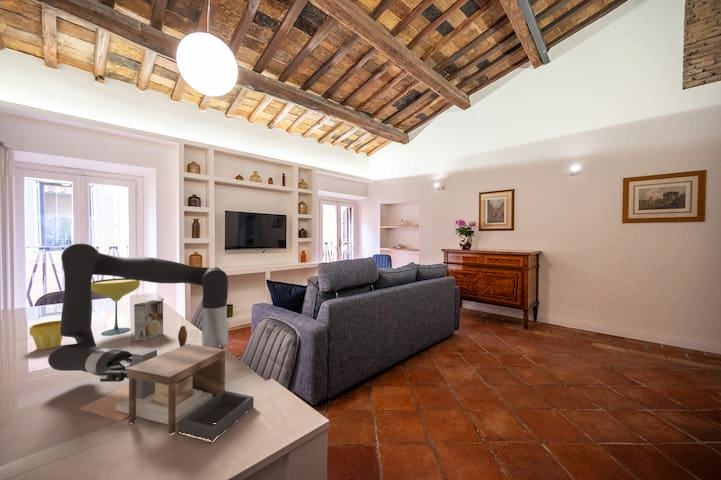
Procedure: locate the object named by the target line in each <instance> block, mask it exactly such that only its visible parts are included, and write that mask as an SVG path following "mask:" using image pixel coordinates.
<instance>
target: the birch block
mask: <svg viewBox="0 0 721 480" xmlns="http://www.w3.org/2000/svg"><path fill="white" fill-rule="evenodd" d="M192 378H193V375H189V376H187V377H185V378H183V379H181V380H179V381H177V382H176V405H177V404H179V403H180V402H182V401H183V400H185V399H187V398H188V397H190V396H192ZM155 404H158V405H162V406H166V407H168V385H164V384H160V383H155Z"/></svg>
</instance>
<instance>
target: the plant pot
mask: <svg viewBox="0 0 721 480" xmlns="http://www.w3.org/2000/svg"><path fill="white" fill-rule="evenodd" d="M60 327H61V320H52V321H44V322H39V323H35V324H32V325H31V326H29V335H30V336H32V339H33V341H34V344H35V347H36V350H38V351H44V350H50V349H56V348H57V347H59V346H62V341H63V337H64V336H61V334H60Z"/></svg>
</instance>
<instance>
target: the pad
mask: <svg viewBox="0 0 721 480" xmlns="http://www.w3.org/2000/svg"><path fill="white" fill-rule="evenodd" d="M128 398H129V385H127V386H125V387H122V388H120V389H118V390H116V391H113V392H111V393H109V394H107V395H105V396H103V397H100V398H99V399H97V400H94V401H92V402H90V403H88V404H86V405H83V406H81V407H79V408H78V410H80V411H84V412H87V413H89V414H94V415H96V416H97V415H98V416H101V417H104V418H107V417H108V419H111V418H112V420H114V419H116V420H115V421H118V420H122V421H123V420H125V419H127V418H129V414H127V413H123V412H119V411H116V404H118V403H120V402H122V401H124V400H126V399H128Z"/></svg>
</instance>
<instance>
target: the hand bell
mask: <svg viewBox="0 0 721 480" xmlns="http://www.w3.org/2000/svg"><path fill="white" fill-rule="evenodd" d="M187 338H188V331H187V329H186V326H185V325H181V326H180V329H179V331H178V334H177V339H178V344H179V347H181V346H184V345H186V342H187Z"/></svg>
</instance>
